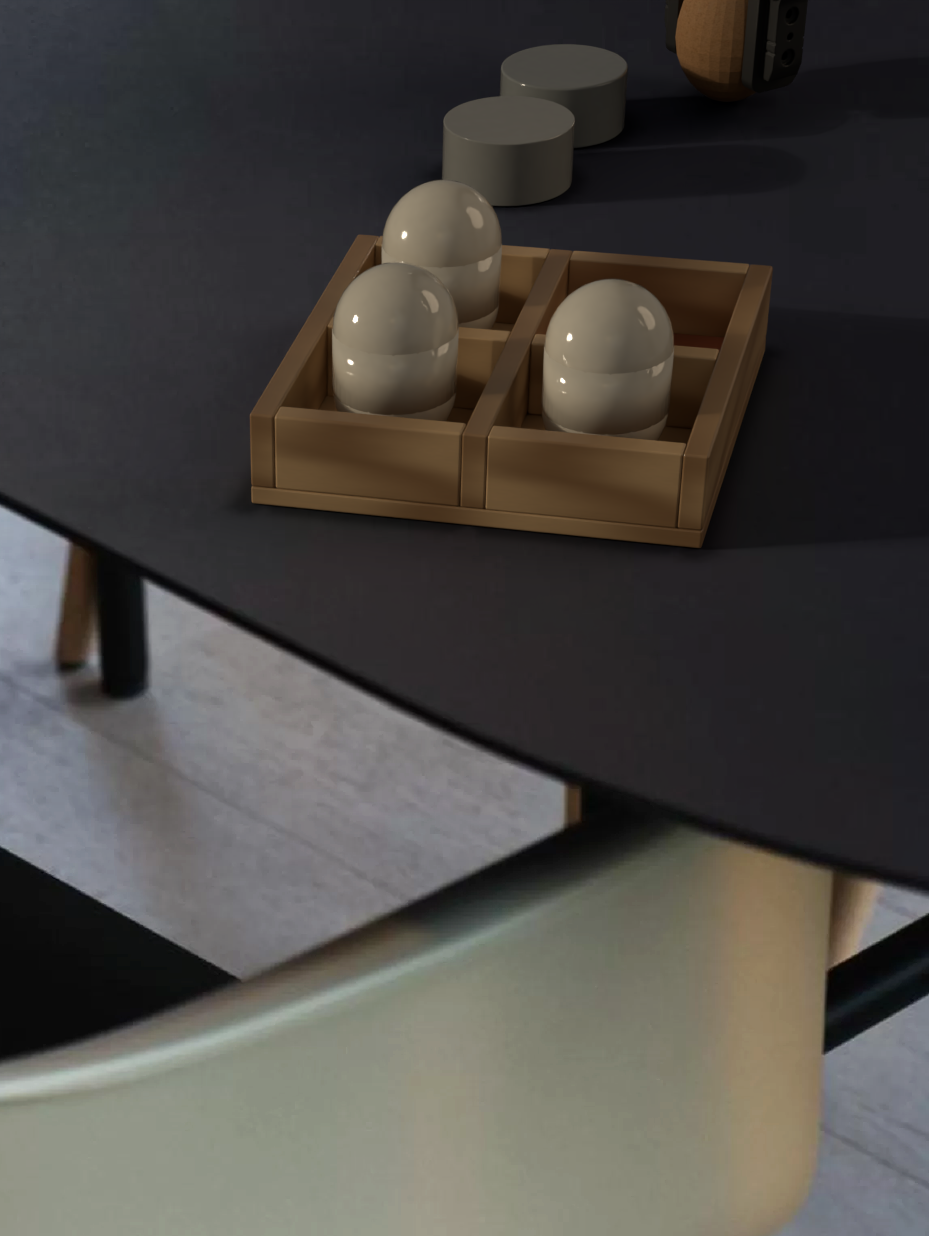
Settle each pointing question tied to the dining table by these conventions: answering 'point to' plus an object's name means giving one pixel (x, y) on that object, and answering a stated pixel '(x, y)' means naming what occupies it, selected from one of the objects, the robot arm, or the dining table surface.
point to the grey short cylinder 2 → (573, 86)
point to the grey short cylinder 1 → (510, 148)
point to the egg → (713, 47)
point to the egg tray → (524, 412)
